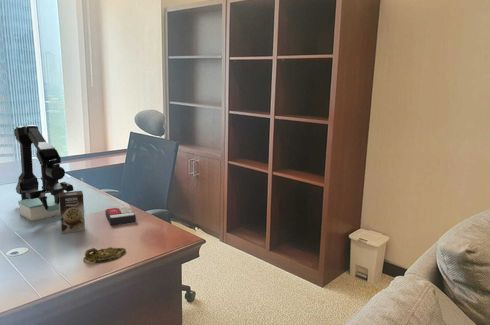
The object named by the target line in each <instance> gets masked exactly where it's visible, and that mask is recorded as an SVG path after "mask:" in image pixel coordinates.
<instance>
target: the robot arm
mask: <svg viewBox="0 0 490 325" xmlns="http://www.w3.org/2000/svg"><path fill="white" fill-rule="evenodd" d="M13 135H14V137H15V139H16V141H17V142H18V144H19V148H20V162H21V166H20V167H21V174H20V175H19V176H18V180H17V181H18V182H17V184H16V187H15V191H16V193H17V194H18V195H20V198H21V199H20V200H25V199H35V198H39V199H40V201H41V202H42V204H43V206H44V207H45V209H46V210H48V206H47V197H46V196H45V195H47V194H51V195H53V196H54V200H55V203H57V204H58V205H59V202H60V201H59V193H62V192H73V191H75V190H74V186H73V184H71V183H68V182H66V181H62V182H59V180H62V179H63V178H64V177H65V175H66V171H65V169H64V168H63V167H61V166H60V164H61V163H62V161H61V160H62V158H61V156H60V154H59V152H58V150H57V149H56V148H55V147H54V145H53V144H50V143H49V142H47V140H45V137H44V136H43V135H42V132H40V130H39V126H38V125H36V124H27V125H24V126H23V125H22V126H16V128H14V129H13ZM32 144H33V145H34V147H35V149H36V153H35V155H36V158H37V160H38V162H39V165H40V171H41V177H40V180H41V183H42V186H41V190H39V182H40V181H39V180H38V177H37V176H36V175H35V174H34V171H33V170H34V169H33V152H32V149H33V148H32Z"/></svg>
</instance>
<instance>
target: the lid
mask: <svg viewBox="0 0 490 325" xmlns="http://www.w3.org/2000/svg"><path fill="white" fill-rule="evenodd" d="M45 196H46V197H47V206H48V210H47V211H49V212H51V211H55V210H59V205H58V204H57V203H55V200H54V196H53V195H51V193H49V194H45ZM19 203H20V204H22V205H24V206H26V207H27V208H29V209H31V208H36V207H40V206H43V204H42V202H41V201H40V199H39V198H35V199H25V200H21V199H20V200H18V204H19Z"/></svg>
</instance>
